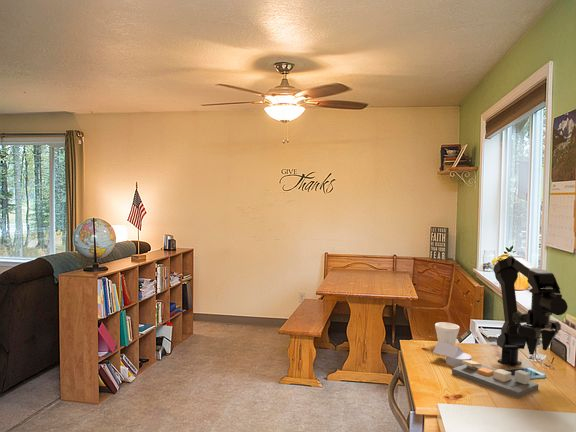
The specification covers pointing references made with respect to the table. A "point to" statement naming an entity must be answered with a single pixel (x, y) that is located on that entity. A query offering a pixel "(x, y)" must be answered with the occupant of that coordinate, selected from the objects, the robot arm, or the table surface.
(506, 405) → the table surface
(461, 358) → the wedge on round base
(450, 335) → the cup
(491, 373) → the orange button
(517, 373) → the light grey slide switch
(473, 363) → the cream rectangular plate
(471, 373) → the control panel
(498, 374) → the off-white button
